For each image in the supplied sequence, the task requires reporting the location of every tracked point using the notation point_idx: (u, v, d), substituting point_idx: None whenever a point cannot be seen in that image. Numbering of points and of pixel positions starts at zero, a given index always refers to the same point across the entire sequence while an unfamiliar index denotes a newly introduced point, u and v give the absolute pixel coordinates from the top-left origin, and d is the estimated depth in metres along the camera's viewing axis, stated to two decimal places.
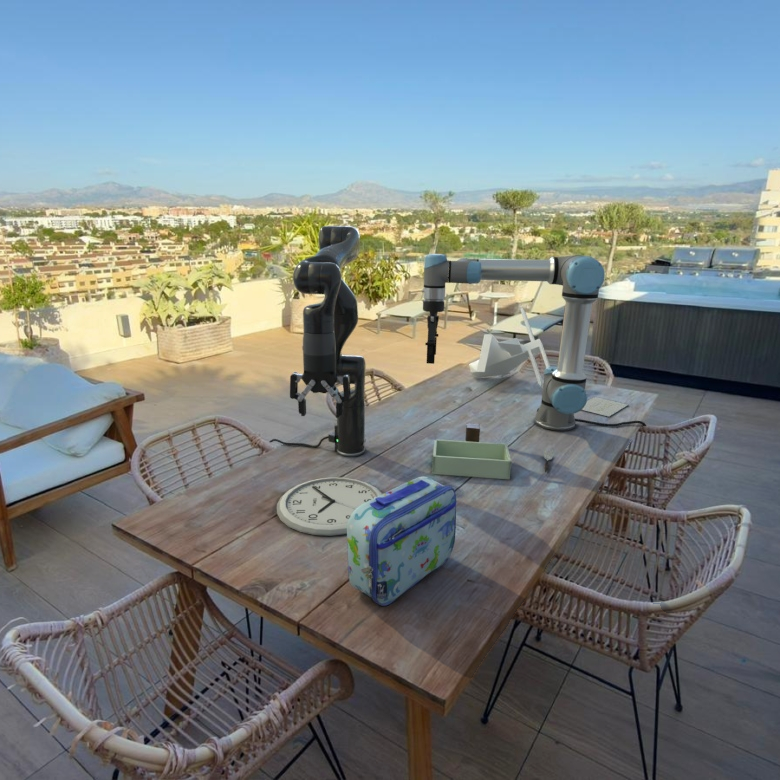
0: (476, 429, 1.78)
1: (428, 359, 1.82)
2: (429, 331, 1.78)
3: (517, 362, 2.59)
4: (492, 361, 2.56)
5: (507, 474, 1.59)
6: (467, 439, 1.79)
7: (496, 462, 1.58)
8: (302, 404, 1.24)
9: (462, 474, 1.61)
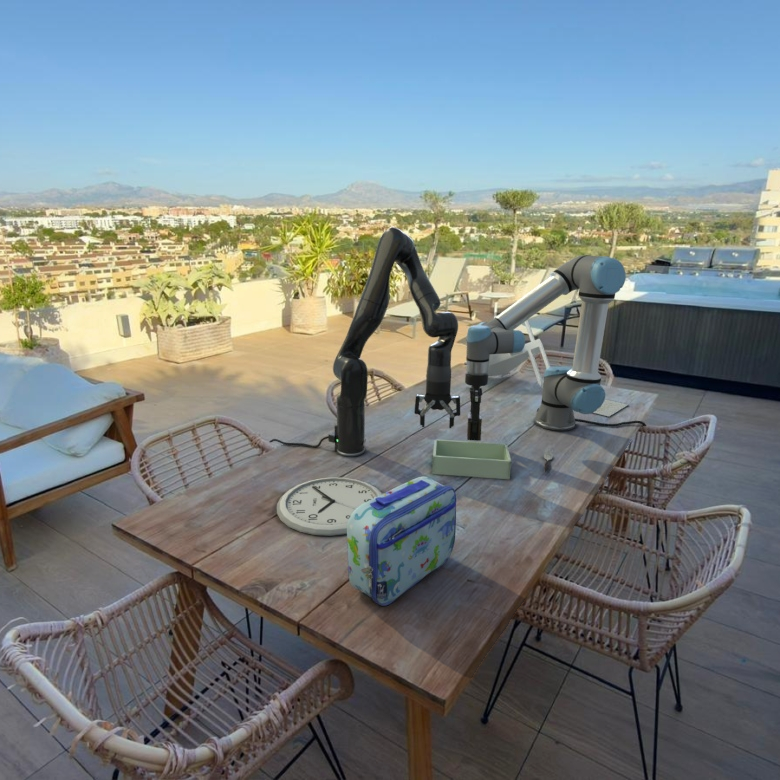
0: None
1: (471, 436, 1.78)
2: (473, 411, 1.72)
3: (517, 362, 2.59)
4: (492, 361, 2.56)
5: (507, 474, 1.59)
6: (468, 429, 1.78)
7: (496, 462, 1.58)
8: (423, 418, 1.64)
9: (462, 474, 1.61)
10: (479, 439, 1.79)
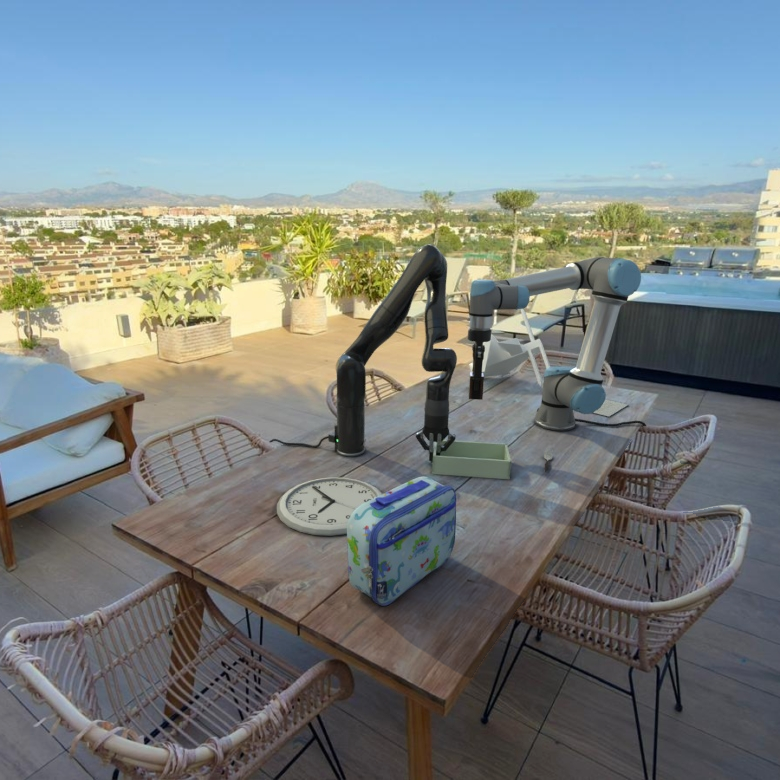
0: None
1: (473, 395, 1.74)
2: (476, 367, 1.68)
3: (517, 362, 2.59)
4: (492, 361, 2.56)
5: (507, 474, 1.59)
6: (470, 387, 1.74)
7: (496, 462, 1.58)
8: (432, 454, 1.66)
9: (462, 474, 1.61)
10: (481, 398, 1.74)
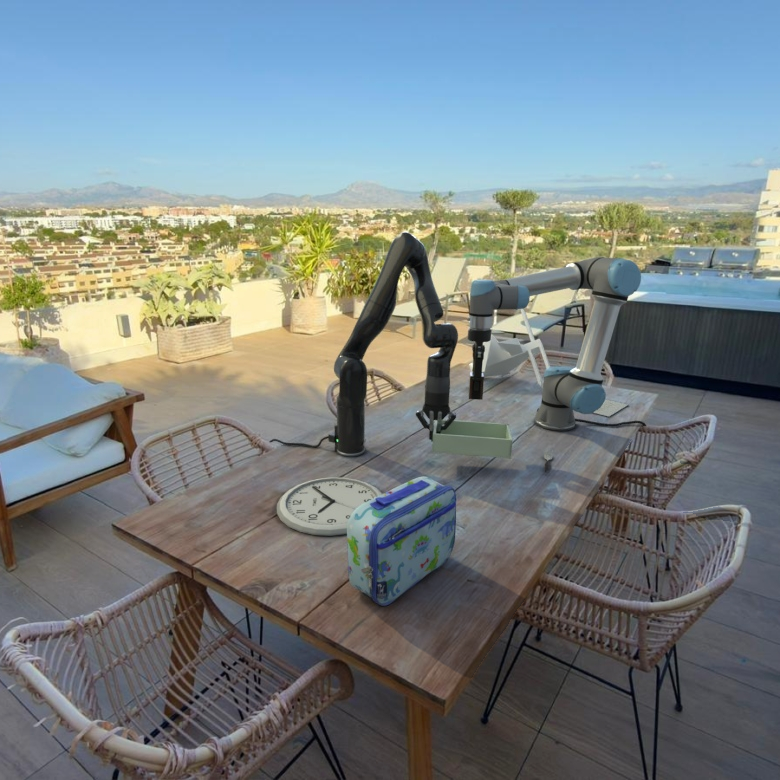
0: None
1: (473, 395, 1.74)
2: (476, 367, 1.68)
3: (517, 362, 2.59)
4: (492, 361, 2.56)
5: (508, 453, 1.56)
6: (470, 387, 1.74)
7: (497, 441, 1.55)
8: (432, 433, 1.63)
9: (462, 453, 1.58)
10: (481, 398, 1.74)
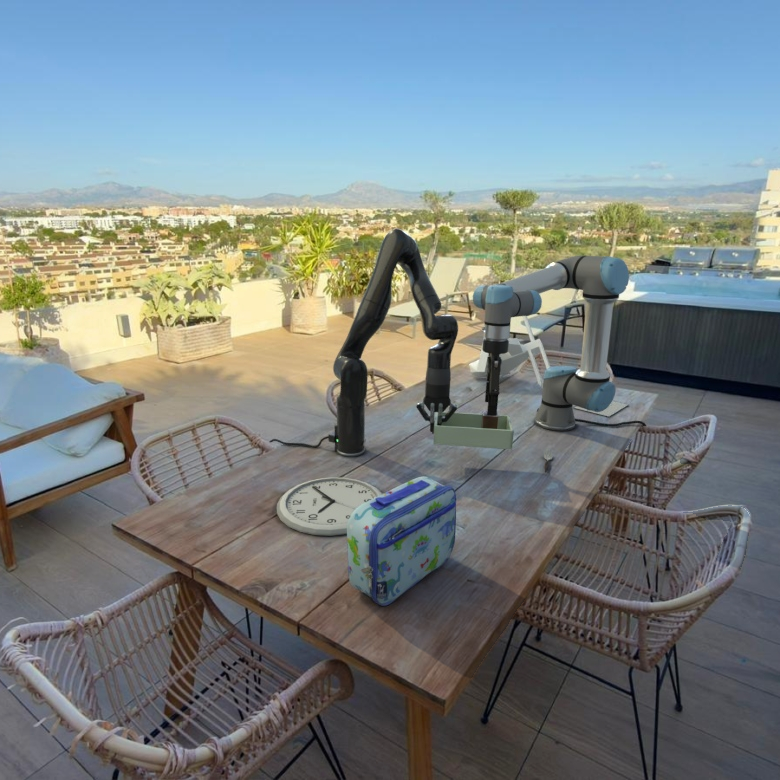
0: (494, 417, 1.59)
1: (489, 410, 1.54)
2: (492, 379, 1.50)
3: (517, 362, 2.59)
4: None
5: (509, 444, 1.56)
6: None
7: (498, 432, 1.55)
8: (433, 425, 1.63)
9: (464, 444, 1.58)
10: None
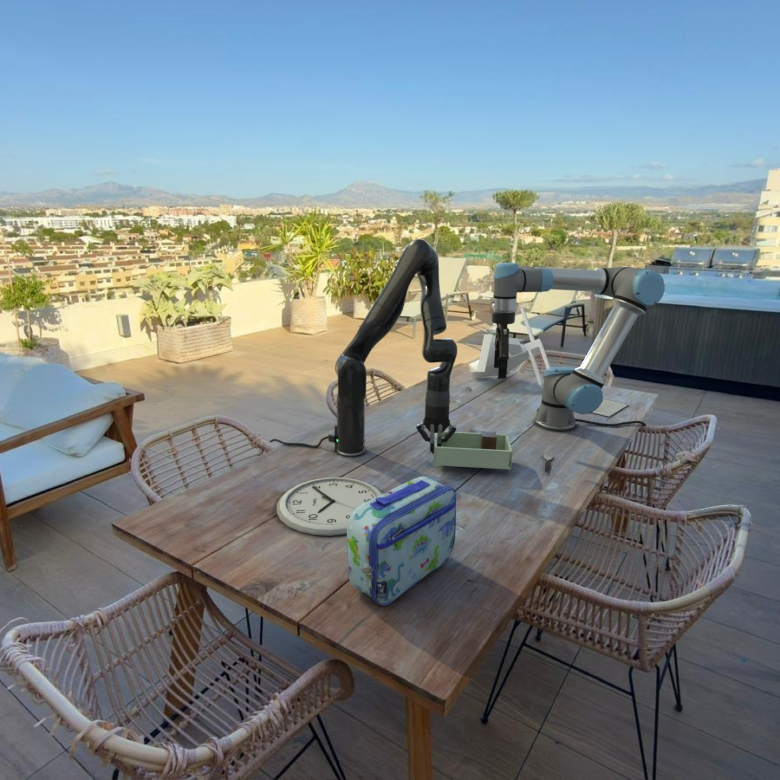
0: (493, 438, 1.62)
1: (500, 374, 1.72)
2: (502, 345, 1.68)
3: (517, 362, 2.59)
4: (492, 361, 2.56)
5: (508, 465, 1.59)
6: (482, 448, 1.63)
7: (497, 452, 1.58)
8: (433, 445, 1.66)
9: (463, 465, 1.61)
10: None
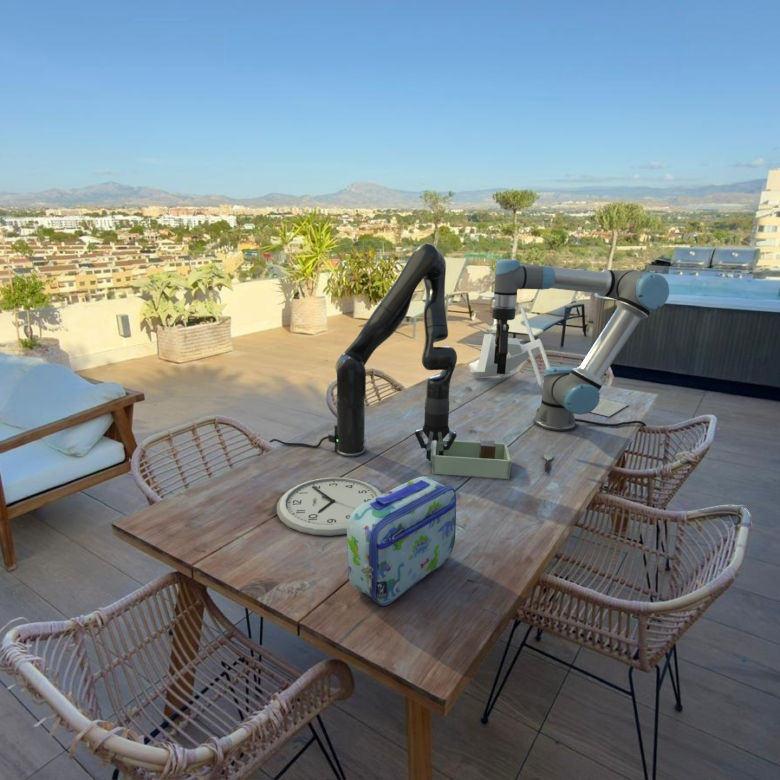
0: (491, 447, 1.62)
1: (499, 369, 1.74)
2: (501, 340, 1.70)
3: (517, 362, 2.59)
4: (492, 361, 2.56)
5: (507, 474, 1.59)
6: (481, 457, 1.63)
7: (496, 462, 1.58)
8: (430, 452, 1.66)
9: (462, 474, 1.61)
10: None
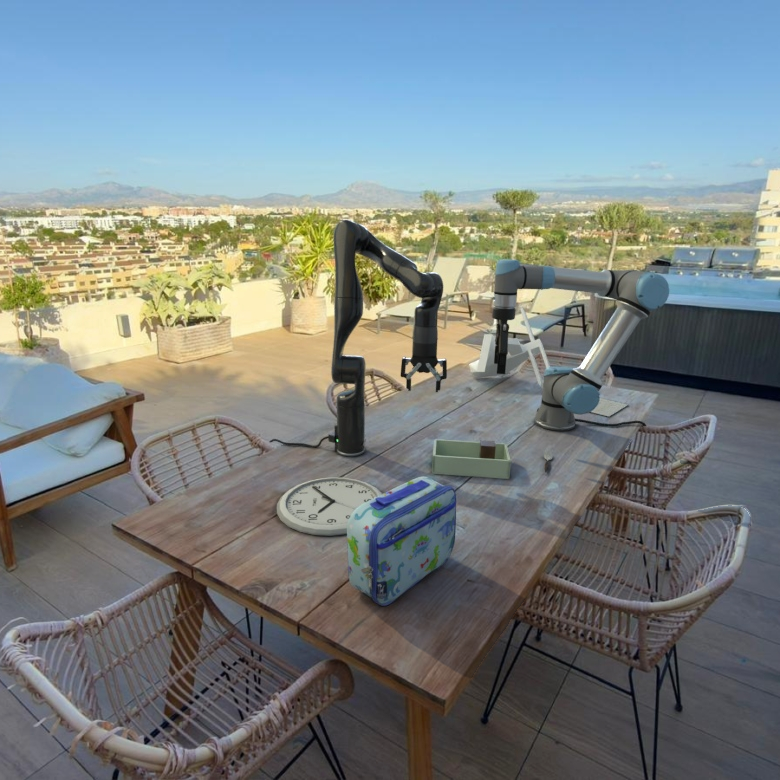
0: (491, 447, 1.62)
1: (499, 369, 1.74)
2: (501, 340, 1.70)
3: (517, 362, 2.59)
4: (492, 361, 2.56)
5: (507, 474, 1.59)
6: (481, 457, 1.63)
7: (496, 462, 1.58)
8: (409, 381, 1.62)
9: (462, 474, 1.61)
10: None
